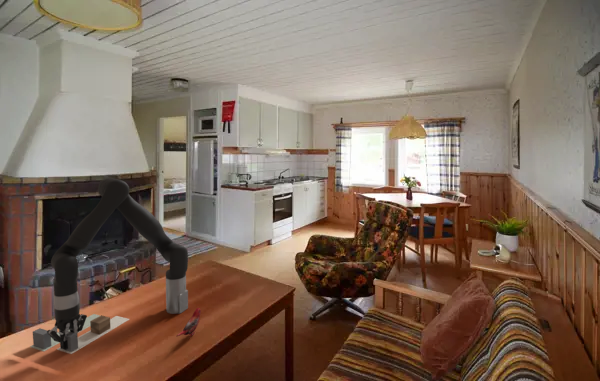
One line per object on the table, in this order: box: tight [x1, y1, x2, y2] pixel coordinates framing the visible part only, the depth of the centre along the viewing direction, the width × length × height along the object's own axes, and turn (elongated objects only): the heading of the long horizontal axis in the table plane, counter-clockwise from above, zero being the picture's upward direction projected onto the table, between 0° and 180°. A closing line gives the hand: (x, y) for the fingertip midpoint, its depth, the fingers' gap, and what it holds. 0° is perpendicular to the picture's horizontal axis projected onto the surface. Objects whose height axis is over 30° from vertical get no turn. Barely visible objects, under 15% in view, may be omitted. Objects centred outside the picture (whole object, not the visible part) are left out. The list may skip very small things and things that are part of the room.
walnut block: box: [90, 315, 111, 335], centre depth 128 cm, size 5×5×5 cm
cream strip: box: [56, 315, 130, 355], centre depth 126 cm, size 8×26×7 cm, turn 162°
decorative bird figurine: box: [176, 307, 202, 338], centre depth 126 cm, size 3×18×10 cm, turn 167°
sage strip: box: [29, 313, 101, 352], centre depth 127 cm, size 8×26×7 cm, turn 162°
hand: (69, 346), depth 116 cm, fingers closed on cream strip, 2 cm apart
